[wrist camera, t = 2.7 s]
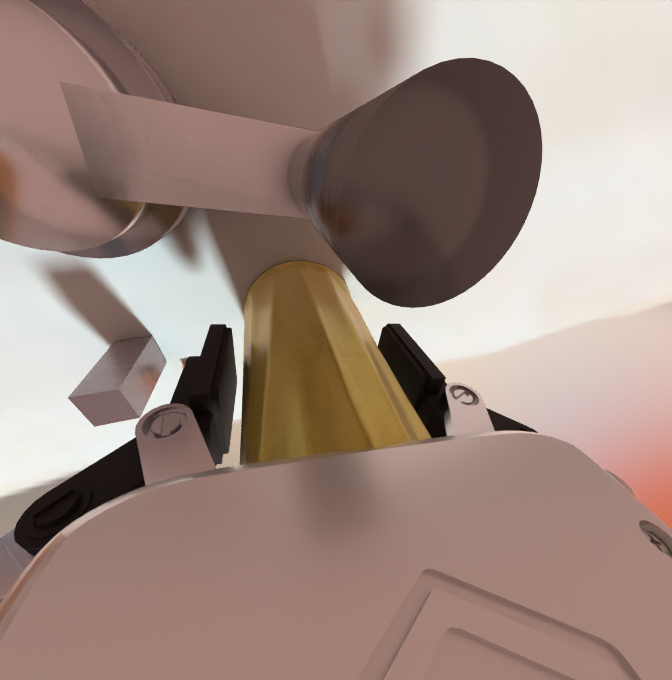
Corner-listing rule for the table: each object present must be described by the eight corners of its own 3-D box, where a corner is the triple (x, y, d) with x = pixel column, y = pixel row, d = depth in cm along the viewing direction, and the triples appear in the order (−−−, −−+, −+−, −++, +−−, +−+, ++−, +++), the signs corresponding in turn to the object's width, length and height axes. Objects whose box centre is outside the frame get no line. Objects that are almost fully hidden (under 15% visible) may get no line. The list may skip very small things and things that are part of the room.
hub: (41, 253, 11) (3, 268, 9) (-145, -21, 7) (-275, -79, 5) (218, 236, 12) (212, 247, 10) (149, -6, 8) (119, -50, 6)
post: (131, 367, 14) (94, 426, 11) (114, 341, 13) (67, 398, 10) (166, 362, 15) (139, 417, 12) (152, 336, 14) (118, 389, 10)
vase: (233, 263, 13) (-50, 1229, 1) (353, 255, 14) (795, 703, 2) (254, 360, 16) (233, 851, 5) (349, 348, 17) (521, 713, 6)
